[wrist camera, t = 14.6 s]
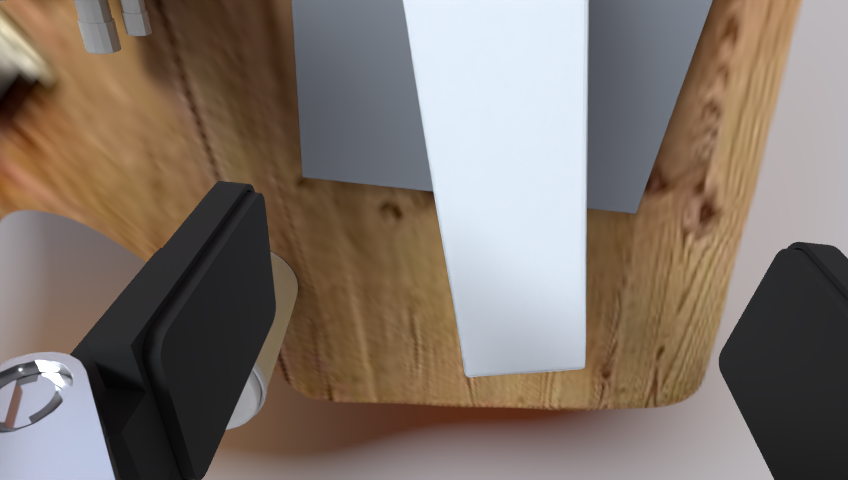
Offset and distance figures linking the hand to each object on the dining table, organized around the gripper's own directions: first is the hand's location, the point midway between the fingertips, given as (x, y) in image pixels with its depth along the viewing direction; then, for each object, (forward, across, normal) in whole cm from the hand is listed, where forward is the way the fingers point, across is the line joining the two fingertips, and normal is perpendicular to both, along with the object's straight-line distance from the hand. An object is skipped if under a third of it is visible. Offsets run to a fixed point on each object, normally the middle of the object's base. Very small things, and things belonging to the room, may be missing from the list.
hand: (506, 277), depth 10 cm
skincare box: (+23, 0, 0) cm, 23 cm away
